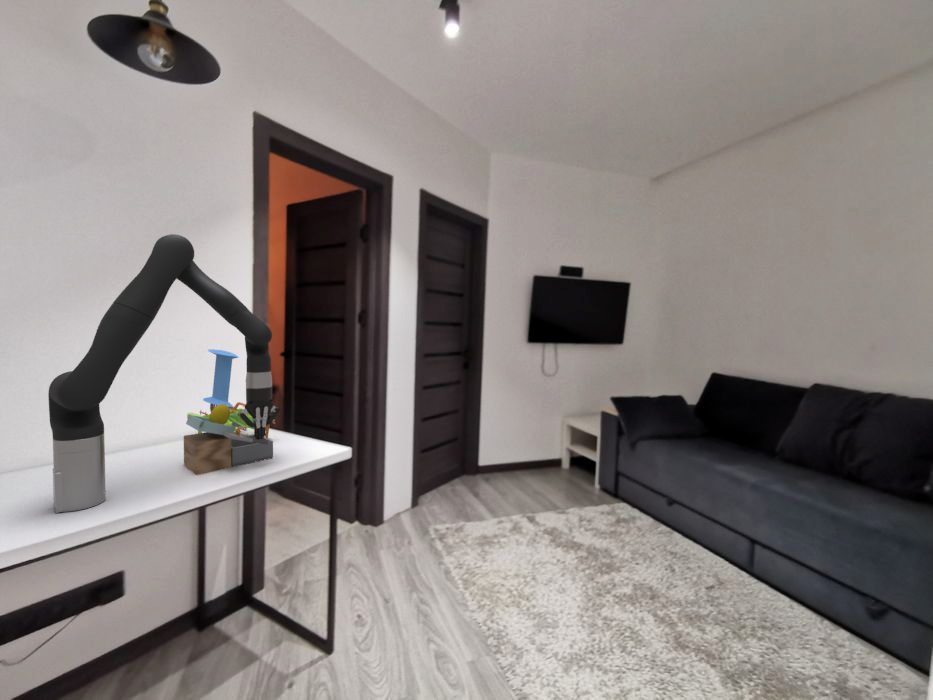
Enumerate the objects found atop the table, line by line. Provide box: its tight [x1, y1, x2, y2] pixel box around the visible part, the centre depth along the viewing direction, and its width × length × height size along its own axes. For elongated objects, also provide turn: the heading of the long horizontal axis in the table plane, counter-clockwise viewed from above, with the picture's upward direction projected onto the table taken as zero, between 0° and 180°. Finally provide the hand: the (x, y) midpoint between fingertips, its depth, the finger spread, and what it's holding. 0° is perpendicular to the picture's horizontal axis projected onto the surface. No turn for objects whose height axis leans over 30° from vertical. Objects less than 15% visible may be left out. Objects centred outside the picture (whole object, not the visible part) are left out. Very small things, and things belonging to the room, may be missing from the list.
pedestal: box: [183, 432, 232, 476], centre depth 129 cm, size 10×13×10 cm
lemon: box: [209, 404, 230, 425], centre depth 131 cm, size 6×6×8 cm
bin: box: [231, 434, 274, 468], centre depth 138 cm, size 13×13×6 cm
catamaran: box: [186, 348, 276, 439], centre depth 158 cm, size 18×32×35 cm, turn 67°
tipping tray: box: [185, 415, 269, 445], centre depth 131 cm, size 19×18×3 cm
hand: (259, 438), depth 131 cm, fingers closed
